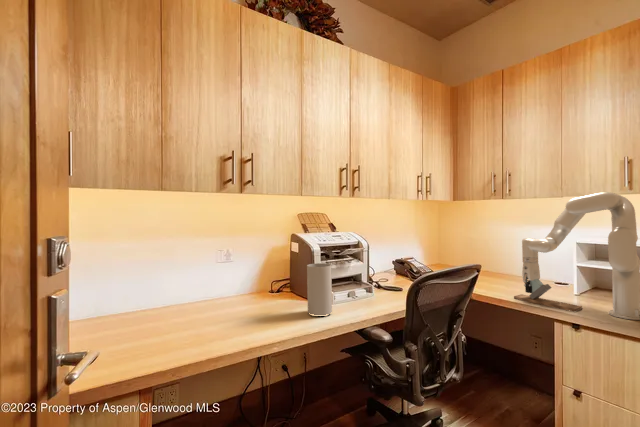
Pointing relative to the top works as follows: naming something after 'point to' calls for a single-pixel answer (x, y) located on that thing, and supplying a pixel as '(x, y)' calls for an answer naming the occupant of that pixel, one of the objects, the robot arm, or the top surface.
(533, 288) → the sanding block
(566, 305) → the walnut plank
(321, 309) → the cylinder vase
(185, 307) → the top surface
